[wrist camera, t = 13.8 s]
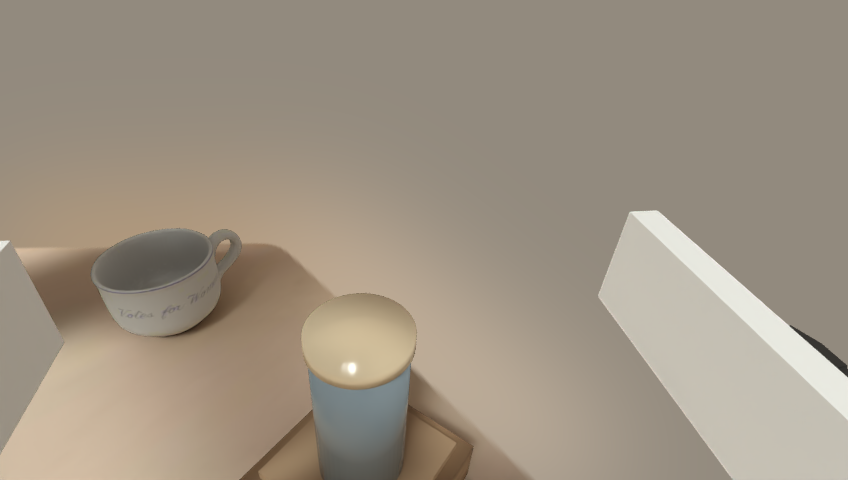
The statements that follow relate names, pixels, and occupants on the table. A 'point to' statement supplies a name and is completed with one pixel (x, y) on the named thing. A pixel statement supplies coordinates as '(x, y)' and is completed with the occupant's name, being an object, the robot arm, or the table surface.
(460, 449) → the pedestal
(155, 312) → the teacup
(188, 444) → the table surface
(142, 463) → the table surface
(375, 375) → the canister
